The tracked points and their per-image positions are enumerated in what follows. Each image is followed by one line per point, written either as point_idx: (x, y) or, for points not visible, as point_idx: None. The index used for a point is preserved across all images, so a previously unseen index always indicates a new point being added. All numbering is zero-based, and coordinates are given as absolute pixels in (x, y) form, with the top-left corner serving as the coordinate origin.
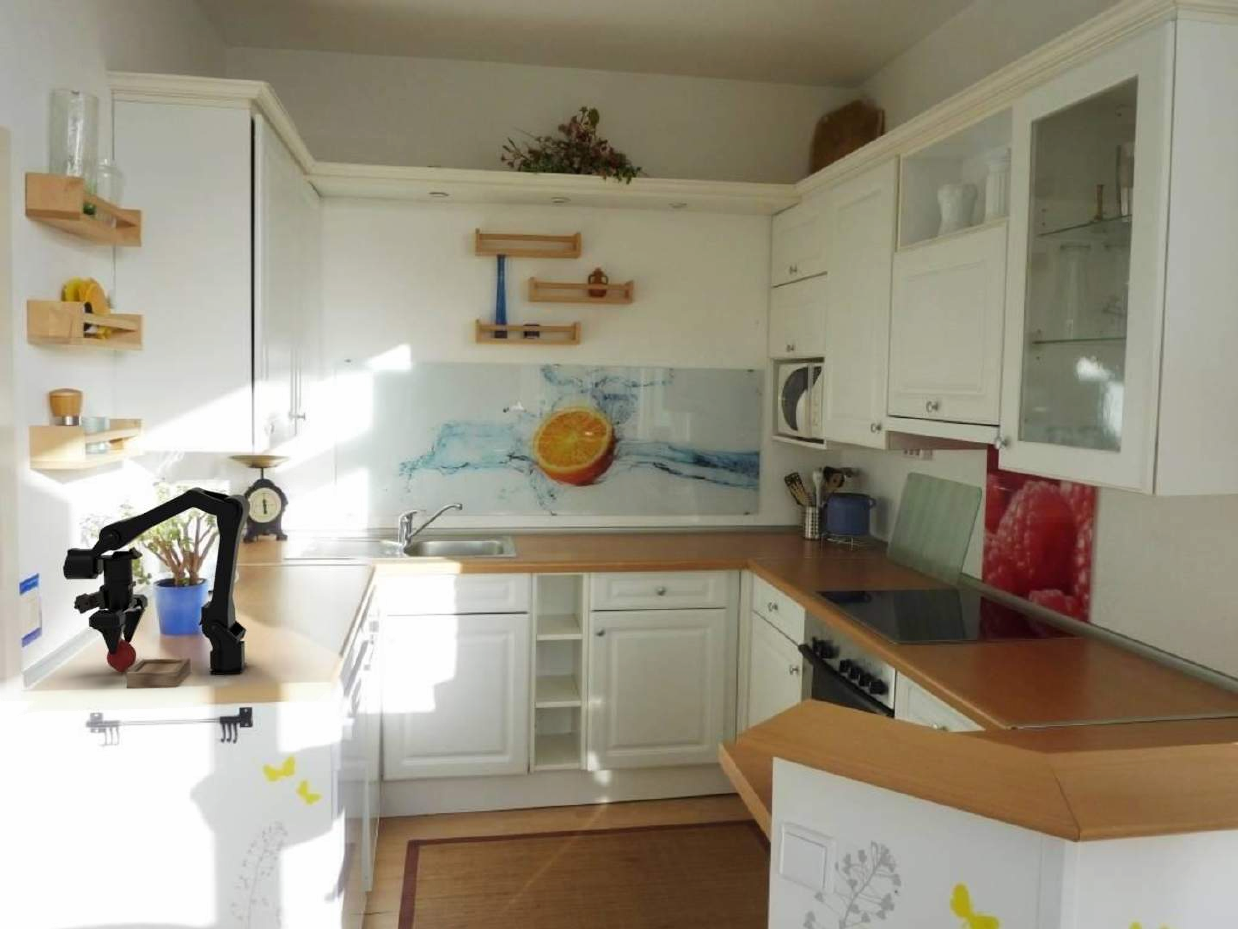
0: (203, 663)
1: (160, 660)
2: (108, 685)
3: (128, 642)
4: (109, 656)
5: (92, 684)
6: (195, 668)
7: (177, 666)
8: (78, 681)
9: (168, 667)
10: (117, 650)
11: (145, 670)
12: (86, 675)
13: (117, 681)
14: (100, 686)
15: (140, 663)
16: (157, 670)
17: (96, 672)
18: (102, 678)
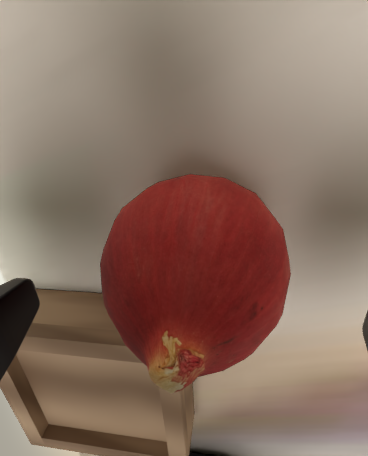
0: (297, 434)
1: (161, 405)
2: (25, 217)
3: (366, 320)
4: (112, 227)
5: (19, 142)
6: (240, 420)
7: (89, 446)
8: (45, 36)
9: (119, 412)
10: (105, 303)
11: (72, 360)
12: (159, 29)
13: (79, 235)
14: (5, 190)
15: (107, 353)
16: (80, 390)
17: (220, 70)
18: (111, 154)
